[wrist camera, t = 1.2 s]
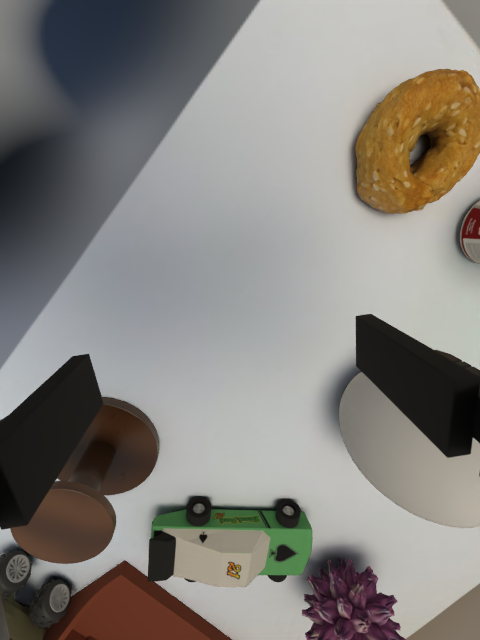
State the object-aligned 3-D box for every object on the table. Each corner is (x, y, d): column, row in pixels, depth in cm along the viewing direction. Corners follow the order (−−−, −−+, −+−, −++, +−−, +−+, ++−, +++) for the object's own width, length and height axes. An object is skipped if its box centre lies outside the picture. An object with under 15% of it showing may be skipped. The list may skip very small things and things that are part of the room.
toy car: (297, 559, 42) (308, 601, 37) (153, 557, 40) (144, 602, 35) (311, 499, 39) (324, 537, 34) (156, 494, 37) (147, 534, 32)
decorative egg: (411, 444, 38) (531, 578, 23) (315, 438, 36) (380, 576, 22) (443, 352, 34) (606, 444, 20) (339, 342, 33) (433, 432, 19)
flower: (379, 552, 45) (333, 620, 45) (320, 522, 42) (270, 595, 42) (449, 643, 34) (388, 734, 34) (375, 613, 31) (308, 713, 31)
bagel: (323, 164, 28) (344, 152, 23) (415, 55, 26) (458, 18, 21) (393, 238, 30) (425, 240, 26) (482, 144, 28) (533, 128, 24)
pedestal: (52, 387, 32) (-17, 457, 22) (168, 407, 34) (149, 479, 24) (44, 479, 35) (-20, 573, 26) (150, 493, 37) (127, 586, 27)
